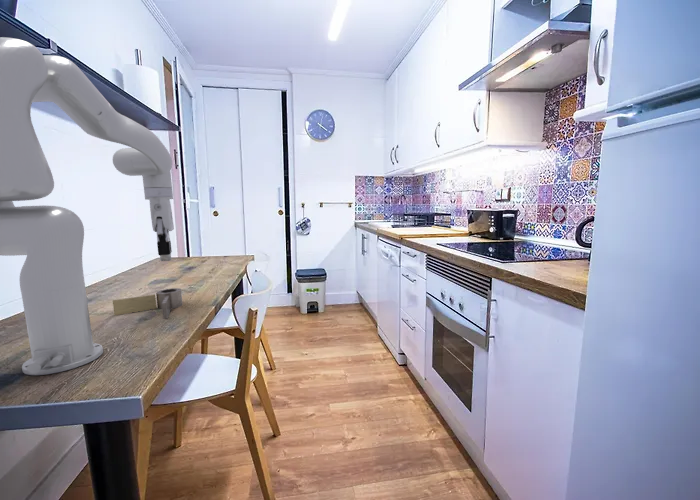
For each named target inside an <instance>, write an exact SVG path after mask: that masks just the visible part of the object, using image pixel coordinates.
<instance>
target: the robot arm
mask: <svg viewBox="0 0 700 500" xmlns="http://www.w3.org/2000/svg"><path fill="white" fill-rule="evenodd" d="M43 102H46V103H47V102H50V103H53V104H55V105H56V106H57V107H58V108H60V109H61V111H63V112H64V113H65V114H66V115H67V117H69V118H70V119H71V120H72V121H73V122H74V123H75V124H76V125H77V126H78V127H79V128H81V130H82V131H83V132H84V133H86V134H87V135H89V136H92V137H94V138H97V139H101V140H103V141H106V142H107V141H108V142H111V143H116V144H121V145H123V146H127V147H125V148H120V149H118V150H116V151H115V152H114V153H113V155H112V164H113V167H114V168H115V169H116V170H117V172H119V173H120V174H123V175H126V176H129V177H132V176H133V177H134V176H138V177H140V176H141V178H142V182H143V183H142V185H143V193H144V200H145V201H146V200H149V208H150V211H149V212H150V219H151V220H150V221H151V226H152V231H153V232H155V233H156V241H157V242H156V244H157V252H158V253H157V254H158V256H160V255H169V254H170V251H171V253H172V252H173V251H172V243H171V236H169V242H170V244H169V242H168V235H167V229H168V232H169V233H170V232H172V231H173V230H174V229H175V228H174V219H173V211H172V205H171V200H173V199H174V193H173V183H172V175H171V173H172V172H171V171H172V167H173V160H172V156H171V153H170V152H169V151H168V149H167V147H166V146H165V145H164V143H163V142H162V140H161V139H160V138H159V137H158V136H157V135H156V133H154V132H153V131H151V130H150V129H149V128H147V127H145V126H144V125H142V124H141V123H138V122H137V121H135V120H133V119H131V118H129V117H127V116H126V115H123V114H121V113H120V112H118V111H117V110H115V108H114V107H113V105H112V104H110V102H109V101H108V100H107V99H106V98H105V97H104V95H103V94H102V93H101V92H100V91H99V89H98V88H97V87H96V86H95V84H93V82H92V81H91V80H90V79H89V78H88V76H87V75H86V74H85V73H84V72H83V70H81V69H80V67H78V65H77V64H75V63H74V62H73V61H72V60H70V59H69V58H67V57H64V56H60V55H53V54H52V55H51V54H49V55H45V54H44V55H43V53H42V52H41V51H40V49H38V48H37V47H36V46H35V45H34V44H32V43H30V42H28V41H26V40H22V39H19V38H13V37H5V36H2V37H0V256H7V257H8V256H9V257H10V256H11V257H12V256H13V257H14V256H25V257H26V258H25V261H24V263H23V265H22V267H21V269H20V273H19V287H20V288H19V289H20V292H21V299H22V304H23V305H22V306H23V312H24V317H25V318H24V319H25V323H26V324H25V325H26V330H27V336H28V342H29V348H30V353H31V354H30V355H31V358H29V359H27V360H26V361H24V362H23V364H22V366H21V369H22V373H24V374H25V375H29V376H43V375H51V374H57V373H62V372H66V371H69V370H73V369H76V368H79V367H82V366H83V365H86V364H88V363H91V362H92V361H95V360H96V359H99V357H100V356H101V355H102V354H103V353H104V348H103V345H102V344H100V343H96V342H94V340H93V333H92V326H91V319H90V318H91V317H90V310H89V304H88V298H87V296H88V295H87V290H86V283H85V277H84V276H85V275H84V266H83V249H84V248H83V246H84V239H85V226H84V224H83V221H82V220H81V218H80V217H79V216H78V215H77V213H75V212H74V211H72V210H70V209H68V208H66V207H61V206H56V205H24V206H21V205H20V206H15V204H14V202H19V201H20V202H21V201H34V200H39V199H43V198H46V197H48V196H49V195H51V193H52V192H53V190H54V189H55V181H54V176H53V172H52V170H51V168H50V165H49V163H48V161H47V158H46V156H45V153H44V151H43V148H42V145H41V143H40V141H39V138H38V136H37V134H36V131H35V130H36V129H35V128H34V126H33V125H34V124H33V121H32V116H31V113H32V112H31V111H32V110H31V109H32V105H33V104H32V103H43ZM163 230H165V231H163Z"/></svg>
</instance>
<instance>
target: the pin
mask: <svg viewBox="0 0 700 500" xmlns="http://www.w3.org/2000/svg"><path fill="white" fill-rule="evenodd" d="M163 231H165V230H163ZM167 235H168V242H169V241H170V240H169V237H170V231H169V232H168V229H167ZM169 244H170V242H169ZM159 261H160V262H169V261H172V252H171V251H170V254H169V255H159Z"/></svg>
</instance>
